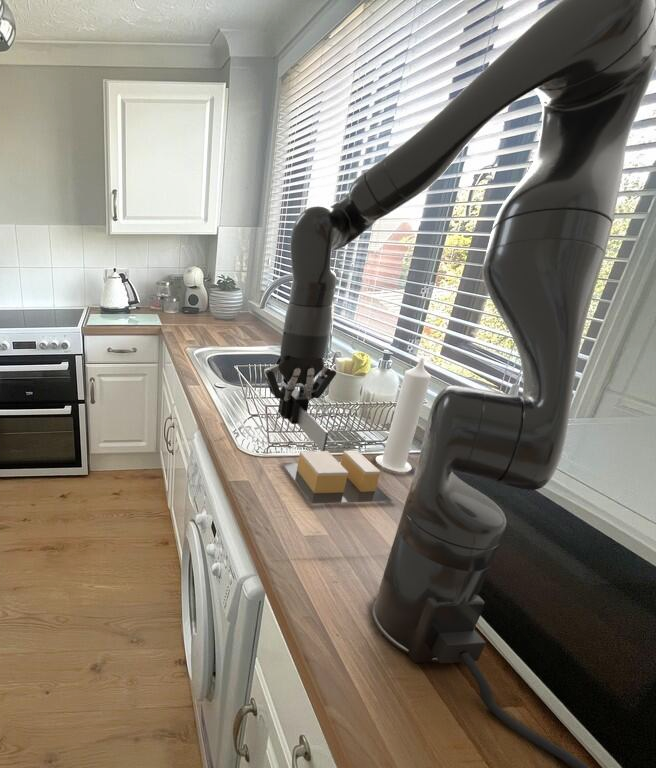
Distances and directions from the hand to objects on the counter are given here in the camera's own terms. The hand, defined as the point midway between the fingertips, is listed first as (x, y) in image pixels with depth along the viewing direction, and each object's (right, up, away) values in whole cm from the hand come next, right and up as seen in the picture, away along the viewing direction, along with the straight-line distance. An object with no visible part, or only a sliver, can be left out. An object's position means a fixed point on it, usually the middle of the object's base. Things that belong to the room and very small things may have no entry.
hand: (291, 416), depth 79 cm
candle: (+27, -12, +12) cm, 32 cm away
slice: (+15, -13, +5) cm, 21 cm away
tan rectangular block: (+7, -13, +4) cm, 16 cm away
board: (+10, -14, +5) cm, 18 cm away
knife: (0, -2, -5) cm, 5 cm away
